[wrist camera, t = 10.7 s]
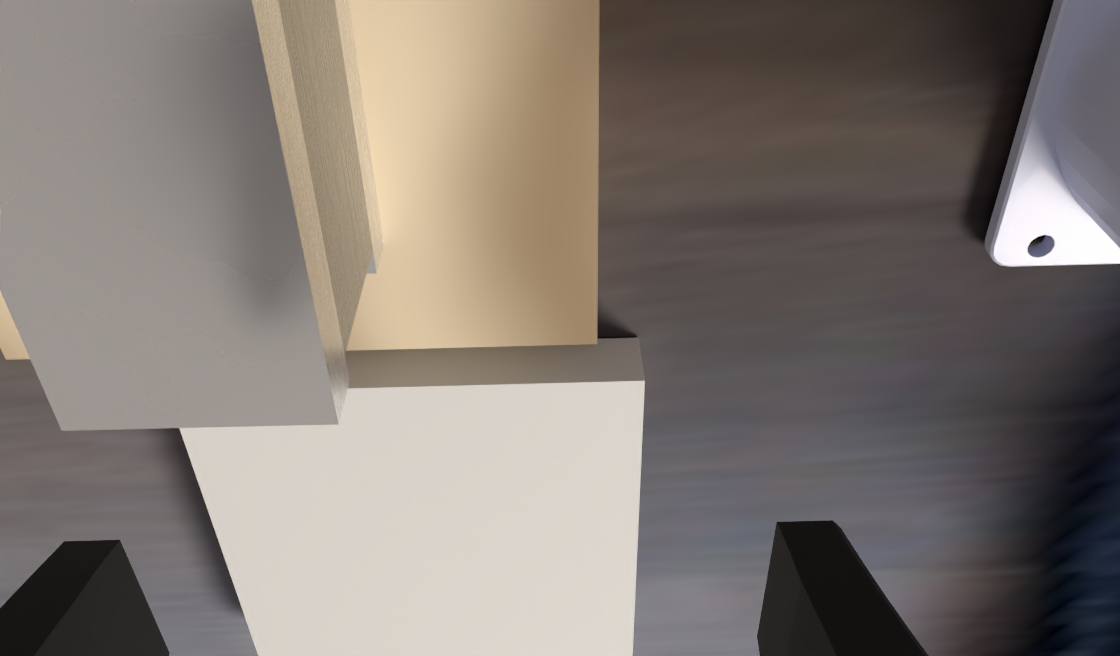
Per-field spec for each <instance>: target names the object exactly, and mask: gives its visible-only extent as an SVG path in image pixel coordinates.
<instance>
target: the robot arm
mask: <svg viewBox="0 0 1120 656" xmlns="http://www.w3.org/2000/svg"><path fill="white" fill-rule="evenodd" d="M1042 235H1046V237H1045V238H1044V240H1043V241H1042V242H1041V243H1039V244H1038V245H1037V246H1033V247H1028V246H1029V244H1030V242H1031V241H1032V240H1034V239H1035V238H1036V237H1038V236H1042ZM985 248H986V250H987V252H988V254H989V255H990V257H991V258H992V260H993V261H994V262H996V263H997V264H999V265H1002V266H1008V267H1012V266H1051V265H1090V264H1120V0H1054V2H1053V5H1052V9H1051V12H1050V15H1049V19H1048V22H1047V26H1046V29H1045V33H1044V36H1043V40H1042V43H1041V47H1040V50H1039V54H1038V57H1037V61H1036V64H1035V67H1034V71H1033V74H1032V78H1031V81H1030V85H1029V88H1028V92H1027V95H1026V99H1025V102H1024V106H1023V109H1022V113H1021V116H1020V119H1019V123H1018V126H1017V130H1016V133H1015V137H1014V140H1013V144H1012V147H1011V151H1010V154H1009V158H1008V161H1007V165H1006V168H1005V171H1004V175H1003V178H1002V182H1001V185H1000V189H999V192H998V196H997V199H996V203H995V206H994V210H993V213H992V217H991V220H990V223H989V227H988V230H987V234H986V237H985ZM757 638H758V645H759V652H760V656H928V655H927V653H926V652H925V651H924V649H923V648H922V646H921V645H920V644H919V642H918V641H917V640H916V638H915V637H914V636H913V634H912V633H911V631H910V630H909V629H908V627H907V626H906V624H905V623H904V621H903V620H902V619H901V617H900V616H899V614H898V613H897V612H896V610H895V609H894V607H893V606H892V604H891V603H890V602H889V600H888V599H887V597H886V596H885V594H884V593H883V591H882V590H881V589H880V587H879V586H878V584H877V583H876V581H875V580H874V578H873V577H872V575H871V574H870V572H869V571H868V569H867V568H866V566H865V565H864V563H863V562H862V560H861V559H860V557H859V556H858V554H857V553H856V551H855V550H854V548H853V546H852V545H851V543H850V542H849V540H848V539H847V537H846V536H845V534H844V532H843V531H842V529H841V528H840V527H839V526H838V525H837V524H836V523H835V522H834V521H798V522H777V524H776V530H775V536H774V542H773V548H772V554H771V559H770V565H769V571H768V577H767V583H766V588H765V594H764V600H763V606H762V612H761V618H760V623H759V629H758V635H757ZM0 656H169V651H168V649H167V646H166V644H165V642H164V639H163V637H162V635H161V633H160V630H159V628H158V626H157V624H156V621H155V619H154V617H153V614H152V612H151V610H150V608H149V605H148V603H147V601H146V599H145V596H144V594H143V592H142V589H141V587H140V585H139V583H138V580H137V578H136V576H135V574H134V571H133V569H132V567H131V564H130V562H129V560H128V558H127V555H126V553H125V551H124V549H123V546H122V544H121V542H120V540H102V541H65V542H63V543H62V544H61V545H60V547H59V548H58V549H57V550H56V551H55V552H54V553H53V554H52V555H51V556H50V557H49V558H48V559H47V560H46V561H45V562H44V563H43V564H42V565H41V566H40V567H39V568H38V569H37V570H36V571H35V572H34V573H33V574H32V575H31V576H30V577H29V578H28V580H27V581H26V582H25V583H24V584H23V585H22V586H21V587H20V588H19V589H18V590H17V591H16V592H15V593H14V594H13V595H12V596H11V597H10V598H9V600H8V601H7V602H6V603H5V604H4V605H3V606H2V607H1V608H0Z"/></svg>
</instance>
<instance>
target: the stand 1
mask: <svg viewBox="0 0 1120 656" xmlns="http://www.w3.org/2000/svg"><path fill="white" fill-rule="evenodd" d="M349 6H350V13H351V20H352V27H353V34H354V41H355V48H356V54H357V61H358V68H359V75H360V82H361V89H362V96H363V103H364V110H365V117H366V124H367V131H368V138H369V144H370V151H371V158H372V165H373V172H374V179H375V186H376V193H377V200H378V207H379V214H380V221H381V228H382V234H383V241H384V246H383V250H382V254H381V258H380V262H379V266H378V270H377V273H373V274H366V277H365V281H364V285H363V289H362V292H361V296H360V300H359V304H358V307H357V311H356V315H355V319H354V322H353V326H352V330H351V334H350V337H349V341H348V345H347V349H346V351H351V350H390V349H428V348H467V347H505V346H544V345H582V344H597V307H598V135H599V0H349ZM0 348H1V350H2V352H3V354H4V356H5V359H30V357H29V355H28V353H27V350H26V348H25V346H24V344H23V341H22V339H21V337H20V335H19V332H18V330H17V328H16V325H15V323H14V321H13V319H12V316H11V314H10V312H9V310H8V307H7V305H6V303H5V300H4V298H3V296H2V294H1V291H0Z"/></svg>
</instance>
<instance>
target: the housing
mask: <svg viewBox="0 0 1120 656" xmlns="http://www.w3.org/2000/svg"><path fill="white" fill-rule="evenodd" d="M383 246H384V241H383V234H382V228H381V221H380V214H379V207H378V200H377V193H376V186H375V179H374V172H373V165H372V158H371V151H370V144H369V138H368V131H367V124H366V117H365V110H364V103H363V96H362V89H361V82H360V75H359V68H358V61H357V54H356V48H355V41H354V34H353V27H352V20H351V13H350V6H349V0H0V291H1V294H2V296H3V298H4V300H5V303H6V305H7V307H8V310H9V312H10V314H11V316H12V319H13V321H14V323H15V325H16V328H17V330H18V332H19V335H20V337H21V339H22V341H23V344H24V346H25V348H26V350H27V353H28V355H29V357H30V359H31V362H32V364H33V366H34V369H35V371H36V373H37V375H38V378H39V380H40V382H41V384H42V387H43V389H44V391H45V394H46V396H47V398H48V400H49V403H50V405H51V407H52V409H53V412H54V414H55V416H56V418H57V421H58V423H59V425H60V428H61V430H62V431H67V430H113V429H158V428H203V427H248V426H294V425H339V421H340V417H341V413H342V409H343V405H344V401H345V397H346V393H347V389H348V385H349V381H350V380H349V374H348V369H347V364H346V358H345V352H346V349H347V345H348V341H349V337H350V334H351V330H352V326H353V322H354V319H355V315H356V311H357V307H358V304H359V300H360V296H361V292H362V289H363V285H364V281H365V277H366V274H373V273H377V270H378V266H379V262H380V258H381V254H382V250H383Z"/></svg>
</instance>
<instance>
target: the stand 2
mask: <svg viewBox="0 0 1120 656" xmlns="http://www.w3.org/2000/svg"><path fill="white" fill-rule="evenodd" d="M345 358H346V364H347V369H348V374H349V380H350V381H349V385H348V389H347V393H346V397H345V401H344V405H343V409H342V413H341V417H340V421H339V425H294V426H248V427H203V428H179V429H180V432H181V435H182V438H183V440H184V443H185V446H186V449H187V452H188V455H189V458H190V461H191V463H192V466H193V469H194V472H195V475H196V478H197V481H198V484H199V486H200V489H201V492H202V495H203V498H204V501H205V504H206V507H207V509H208V512H209V515H210V518H211V521H212V524H213V527H214V530H215V532H216V535H217V538H218V541H219V544H220V547H221V550H222V553H223V555H224V558H225V561H226V564H227V567H228V570H229V573H230V576H231V578H232V581H233V584H234V587H235V590H236V593H237V596H238V599H239V601H240V604H241V607H242V610H243V613H244V616H245V619H246V622H247V624H248V627H249V630H250V633H251V636H252V639H253V642H254V645H255V647H256V650H257V653H258V656H632V655H633V633H634V611H635V588H636V566H637V543H638V521H639V499H640V476H641V454H642V431H643V409H644V387H645V379H644V372H643V365H642V358H641V351H640V344H639V338H606V339H597V344H582V345H544V346H505V347H467V348H428V349H390V350H351V351H346V352H345Z"/></svg>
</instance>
